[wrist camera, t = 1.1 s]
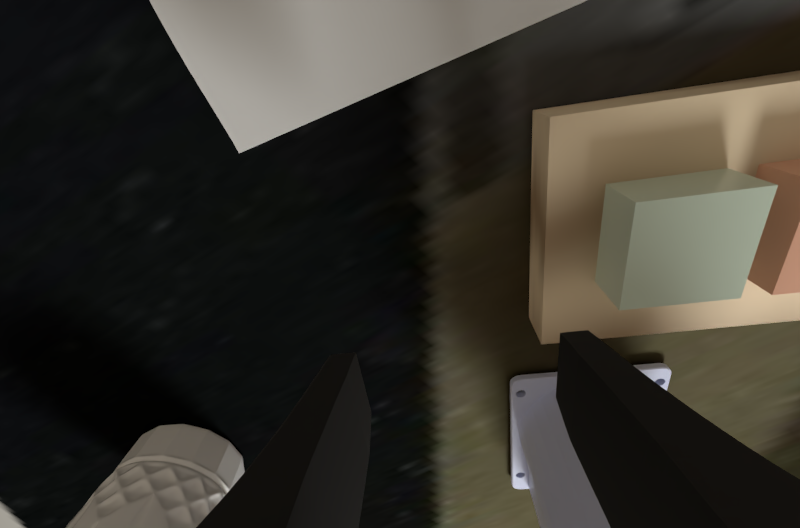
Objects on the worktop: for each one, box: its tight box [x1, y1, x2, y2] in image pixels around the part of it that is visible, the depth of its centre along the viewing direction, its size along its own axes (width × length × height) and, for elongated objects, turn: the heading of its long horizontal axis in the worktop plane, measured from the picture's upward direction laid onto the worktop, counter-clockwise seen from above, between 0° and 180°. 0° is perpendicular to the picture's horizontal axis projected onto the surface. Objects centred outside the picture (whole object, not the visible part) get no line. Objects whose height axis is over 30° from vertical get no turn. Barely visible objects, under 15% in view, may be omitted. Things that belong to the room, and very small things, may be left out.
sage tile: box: [595, 168, 778, 310], centre depth 13 cm, size 4×4×2 cm
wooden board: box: [529, 71, 800, 344], centre depth 15 cm, size 10×13×2 cm
